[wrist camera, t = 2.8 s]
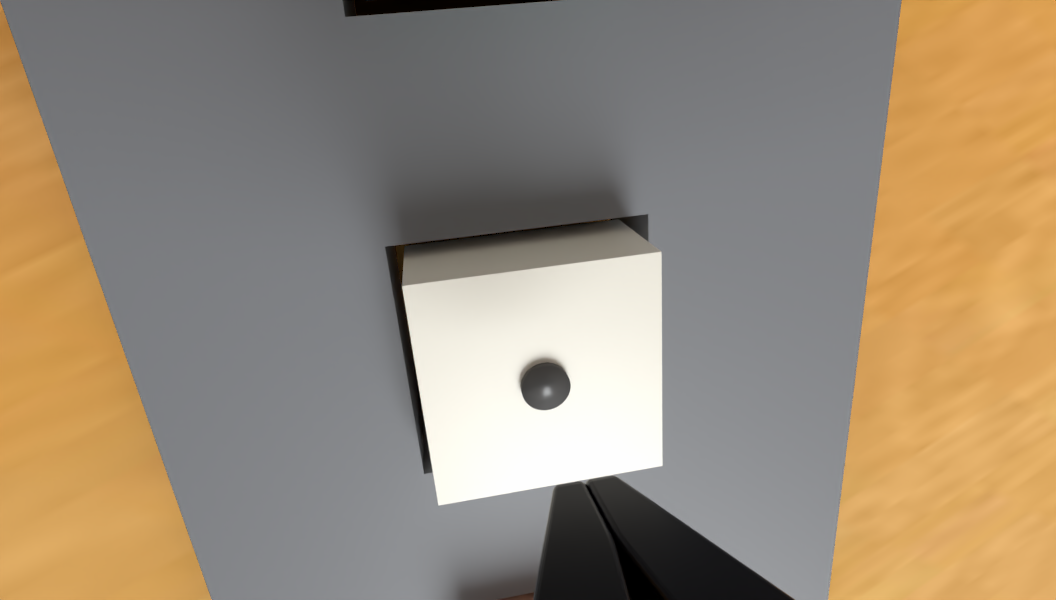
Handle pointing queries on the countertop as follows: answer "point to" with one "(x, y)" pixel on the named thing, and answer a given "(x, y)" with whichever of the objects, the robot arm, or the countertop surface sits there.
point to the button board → (459, 211)
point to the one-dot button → (537, 356)
